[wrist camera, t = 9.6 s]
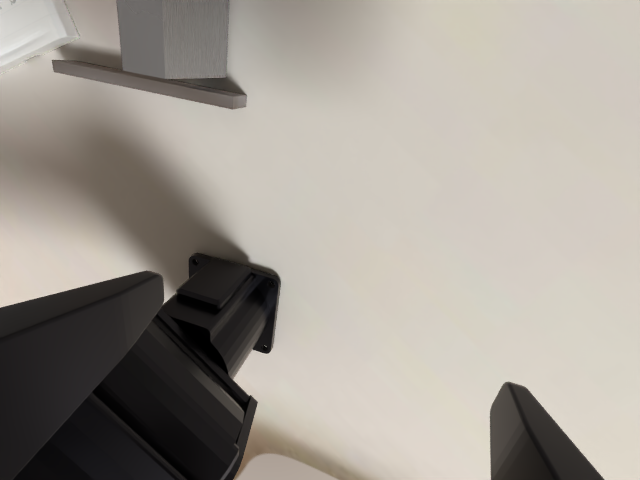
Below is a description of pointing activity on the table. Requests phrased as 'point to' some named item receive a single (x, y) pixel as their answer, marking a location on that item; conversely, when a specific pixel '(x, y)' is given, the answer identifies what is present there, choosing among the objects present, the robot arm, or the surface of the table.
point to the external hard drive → (32, 30)
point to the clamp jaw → (174, 37)
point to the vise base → (151, 84)
